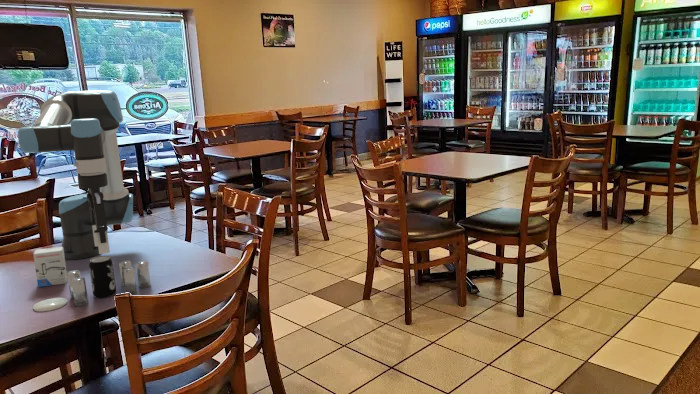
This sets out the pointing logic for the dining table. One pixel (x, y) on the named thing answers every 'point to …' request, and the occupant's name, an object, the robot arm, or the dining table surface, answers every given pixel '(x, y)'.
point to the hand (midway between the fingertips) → (102, 249)
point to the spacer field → (127, 280)
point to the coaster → (50, 304)
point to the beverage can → (102, 276)
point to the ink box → (50, 266)
